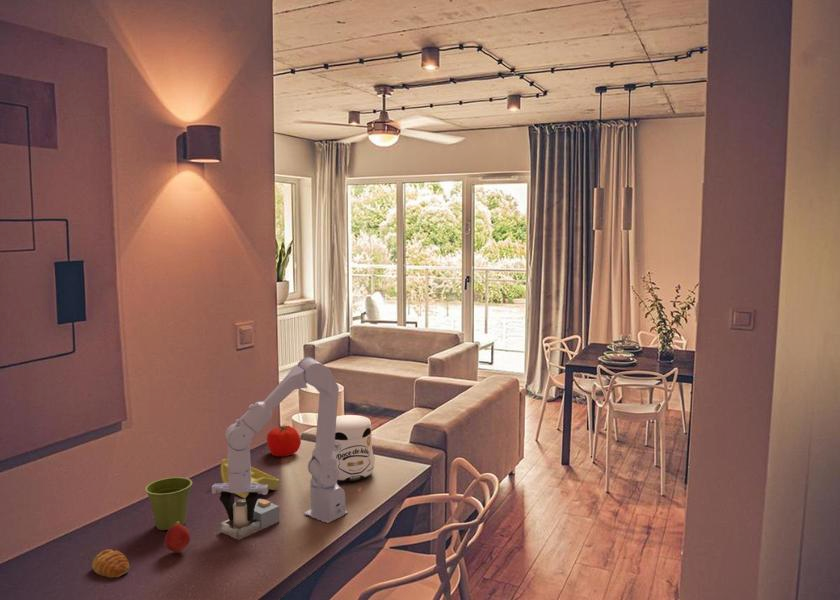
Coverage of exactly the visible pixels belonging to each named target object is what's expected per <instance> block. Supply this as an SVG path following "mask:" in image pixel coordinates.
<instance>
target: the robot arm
mask: <svg viewBox="0 0 840 600" xmlns="http://www.w3.org/2000/svg"><path fill="white" fill-rule="evenodd" d="M307 384H308V385H310V386H311V387H313V388H315V389H316V390H317V392H318V394H319V395H318V408H317V409H318V410H317V418H316V419H317V421H316V433H315V434H316V435H315V436H316V437H315V448H314V449H313V450H312V452H311V457H310V459H309V462H308V464H307V471H308V472H309V474H310V475H311V480H310V509H309V510H306V511H305V512H304V513H305V514H307V515H306V516H308V515H309V516H308V517H310V516H312V517H311V518H313V517H314V518H313V519H315V518H316V519H315V520H318V521H320V520H321V522H323V523H325V522H326V523H325V524H330V523H332V522H333V521H336V520H337V519H339V518H341V517H343V516H345V515H347V514H348V513H349V512H348V511H347V510H346V492H345V490H344V488H343V487H340V485H338V481H337V480H338V478H339V471H338V469H337V460H336V456H335V452H334V443H335V430H336V418H337V416H338V402H339V393H340V391H339V390H340V389H339V385H338V384H337V382H336V380H335V378H334V375H333V374H332V371H331V370H330V369H329V368H328V367H327V366H326V365H325V364H323V363H320V362H319V361H317V360H316V359H315V358H314V357H304V358H302V359H301V360H299V362H298V363H297V364H295V365H294V366H292V368H291V369H290V370H289V371H288V373H287V375H286V376H285V377H284V378H283V379H282V380H281V381H280V383H278V384H277V386H275V388H274V389H273V390H272V391H271V392H270V393H269V394H268V396H267V397H266V398H265V399H264V400H263V401H255V403H254V404H253V403H250V405H249V406H248V410H247V411H246V412H245V413H244V414H242V416H241V417H240V418H237V419H236V420H235V423H232V424H230V425H229V426H228V427H227V428H226V430H225V433H224V434H223V435H224V439H225V441H227V449H226V450H227V453H226V454H227V457H226V458H227V460H228V482H229V483H223V482H222V483H221V482H220V483H214V484H213V485H212V486H211V494H217V493H218V494H219V493H220V496H219V501H220V502H221V503H222V505H223V507H224V509H225V511H226V513H227V517H228V519H229V520H230V521H232V520H233V504H234V503H235V496H236V494H235V493H249V495H247V497H246V498H245V500H246V503H247V510H248V521H251V520H252V518H253V514H254V509H255V505H256V502H257V500H258V499H259V497H260V495H262V496H266V495H267V494H268V493H269V489H268V485H263V484H257V483H252V482H251V467H252V465H251V452H250V445H251V444H252V441H253V436H255V435H256V434H257V433H258V432H259V431H260V430H261V429H262V428H263V427H264V426H265V425H266V424H267V423H268V422H269V420H271V418H273V410H274V409H275V408H277V407H278V406H279V404H281V403H282V402H283V401H284V400H285V399H286V398H288V396H290V395H291V393H292V392H294V390H299V389H300V390H301V389H307V388H308V385H307ZM346 513H347V514H346ZM305 514H304V515H305ZM344 514H345V515H344Z"/></svg>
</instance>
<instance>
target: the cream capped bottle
mask: <svg viewBox="0 0 840 600" xmlns="http://www.w3.org/2000/svg"><path fill="white" fill-rule="evenodd" d="M249 524H250V521H248V510H247V503H246V499H244V498H241V499H238V500H236V501H235V502H234V504H233V527H235V528H237V529H240V528H242V527H245V526H247V525H249Z"/></svg>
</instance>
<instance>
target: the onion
mask: <svg viewBox="0 0 840 600" xmlns="http://www.w3.org/2000/svg"><path fill="white" fill-rule="evenodd" d="M190 540H191V534H190V530H189V529H188V528H187V527H186V526H185V525H180V522H176V523H175V524H174V525H173V526H172V527H171V528H170V529H169V530H167V531H166V534H165V536H164V545H165V547H166V548H167V549H168V550H170V551H172V552H173V553H177V554H179V553H182V552H183V550H184V549H185V548H186V547H188V545H189V543H190Z"/></svg>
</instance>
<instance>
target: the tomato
mask: <svg viewBox="0 0 840 600" xmlns="http://www.w3.org/2000/svg"><path fill="white" fill-rule="evenodd" d="M278 426H279V427H275V428H272V429H271V430H270V431H269V433H268V434H267V436H266V445H267V448H268V449H269V451H270V453H271V454H272V456H274V457H287V456H291V455H294V454H296V453H297V452H298V450H299V449H300V447H301V443H302V439H301V437H300V433H298V431H297V429H296V428H294V427H292V426H291V425H281V424H278Z"/></svg>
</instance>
